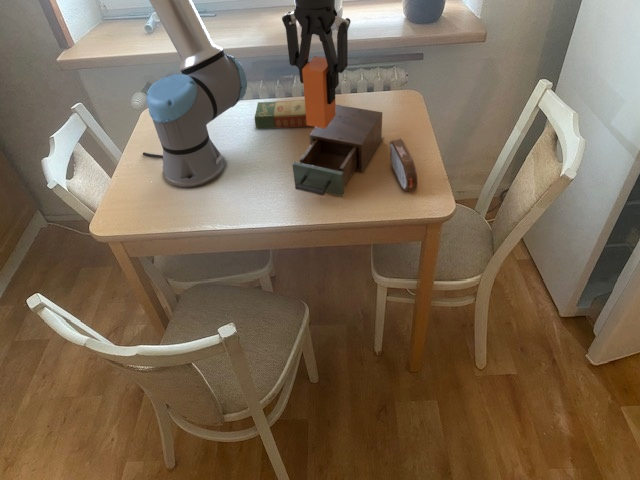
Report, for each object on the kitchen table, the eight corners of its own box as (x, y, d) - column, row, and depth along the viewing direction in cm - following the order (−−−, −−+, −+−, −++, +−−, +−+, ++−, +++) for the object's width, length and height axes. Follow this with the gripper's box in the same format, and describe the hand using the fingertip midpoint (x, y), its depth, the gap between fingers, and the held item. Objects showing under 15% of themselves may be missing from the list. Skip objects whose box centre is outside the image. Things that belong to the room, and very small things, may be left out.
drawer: (334, 209, 107) (333, 187, 103) (286, 197, 111) (283, 176, 107) (363, 161, 119) (363, 140, 115) (318, 152, 123) (317, 131, 119)
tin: (417, 197, 110) (420, 167, 104) (404, 199, 110) (406, 169, 104) (399, 159, 120) (401, 131, 114) (386, 161, 120) (388, 133, 114)
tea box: (325, 128, 103) (322, 72, 94) (306, 125, 104) (302, 68, 95) (335, 115, 107) (334, 59, 97) (317, 111, 108) (314, 56, 99)
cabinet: (361, 172, 118) (361, 145, 112) (311, 161, 122) (309, 135, 116) (381, 139, 128) (382, 112, 122) (334, 130, 132) (333, 104, 126)
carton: (311, 127, 134) (310, 113, 131) (255, 129, 135) (253, 116, 132) (312, 111, 140) (311, 98, 137) (259, 114, 141) (256, 101, 138)
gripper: (260, -17, 86) (276, 100, 102) (351, -8, 80) (352, 114, 97) (279, -30, 90) (291, 84, 107) (366, -22, 85) (364, 97, 101)
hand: (320, 98), depth 102 cm, fingers closed on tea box, 4 cm apart
